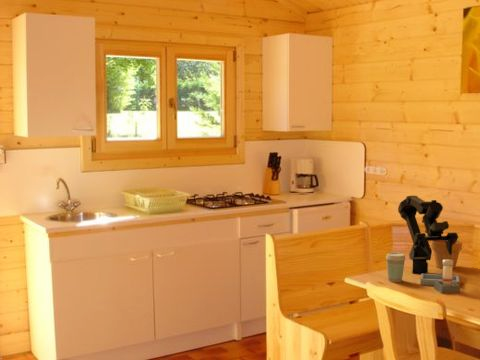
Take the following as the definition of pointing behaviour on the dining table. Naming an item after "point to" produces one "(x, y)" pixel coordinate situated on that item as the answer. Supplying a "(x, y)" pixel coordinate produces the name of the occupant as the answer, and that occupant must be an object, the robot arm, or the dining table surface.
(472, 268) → the dining table surface
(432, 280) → the tray
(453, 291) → the clip block
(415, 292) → the dining table surface
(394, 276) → the coffee cup
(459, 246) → the flower pot
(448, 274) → the fuse
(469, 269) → the dining table surface
